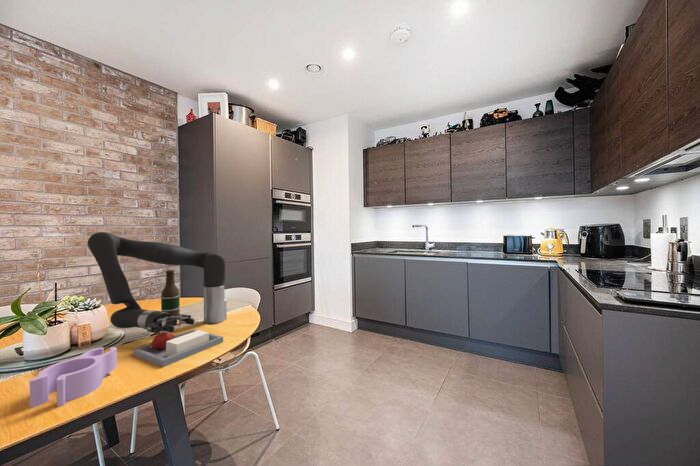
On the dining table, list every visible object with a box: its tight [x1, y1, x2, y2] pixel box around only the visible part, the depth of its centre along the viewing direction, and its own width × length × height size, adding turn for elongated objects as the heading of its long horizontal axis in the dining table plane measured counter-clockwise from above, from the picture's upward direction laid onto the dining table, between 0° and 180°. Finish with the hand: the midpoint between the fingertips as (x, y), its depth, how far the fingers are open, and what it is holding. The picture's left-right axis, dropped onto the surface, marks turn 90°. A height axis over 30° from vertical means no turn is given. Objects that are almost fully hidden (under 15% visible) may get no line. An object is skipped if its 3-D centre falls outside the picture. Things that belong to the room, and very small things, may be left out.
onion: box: [149, 331, 175, 350], centre depth 102 cm, size 6×6×8 cm
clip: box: [28, 346, 118, 409], centre depth 80 cm, size 20×12×7 cm, turn 3°
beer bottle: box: [160, 269, 181, 317], centre depth 141 cm, size 8×8×24 cm
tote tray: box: [133, 328, 224, 368], centre depth 103 cm, size 22×18×3 cm
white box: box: [166, 329, 210, 357], centre depth 101 cm, size 12×6×5 cm, turn 154°
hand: (183, 325), depth 105 cm, fingers open, 8 cm apart
